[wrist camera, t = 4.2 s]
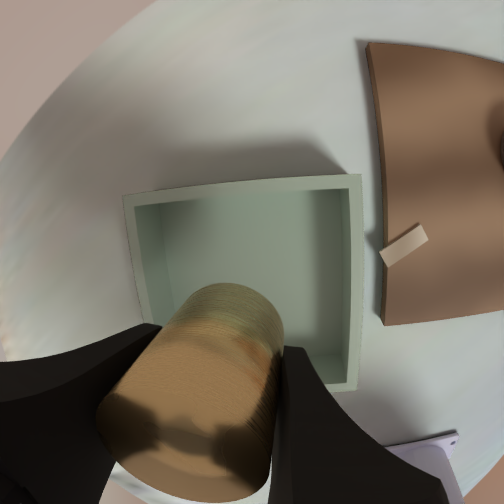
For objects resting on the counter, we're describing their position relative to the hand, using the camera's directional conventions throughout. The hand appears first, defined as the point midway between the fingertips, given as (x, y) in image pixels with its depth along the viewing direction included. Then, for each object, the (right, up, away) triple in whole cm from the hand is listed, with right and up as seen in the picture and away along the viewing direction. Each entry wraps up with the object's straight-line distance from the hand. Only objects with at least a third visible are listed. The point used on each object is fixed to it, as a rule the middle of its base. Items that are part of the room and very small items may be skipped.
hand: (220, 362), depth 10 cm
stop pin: (0, +1, +1) cm, 2 cm away
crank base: (+17, +8, +5) cm, 20 cm away
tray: (+1, +2, +8) cm, 9 cm away
